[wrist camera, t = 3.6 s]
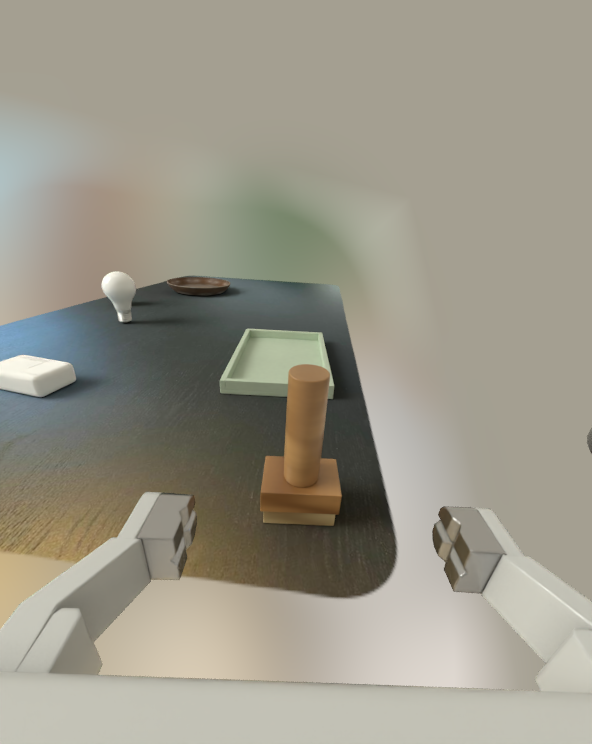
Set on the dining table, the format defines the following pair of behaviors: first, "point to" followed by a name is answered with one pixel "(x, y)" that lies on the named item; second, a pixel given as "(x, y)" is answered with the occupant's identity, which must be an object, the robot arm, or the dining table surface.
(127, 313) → the lightbulb
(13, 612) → the robot arm
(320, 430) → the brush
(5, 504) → the dining table surface
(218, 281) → the plant saucer
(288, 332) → the tray
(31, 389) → the soap
